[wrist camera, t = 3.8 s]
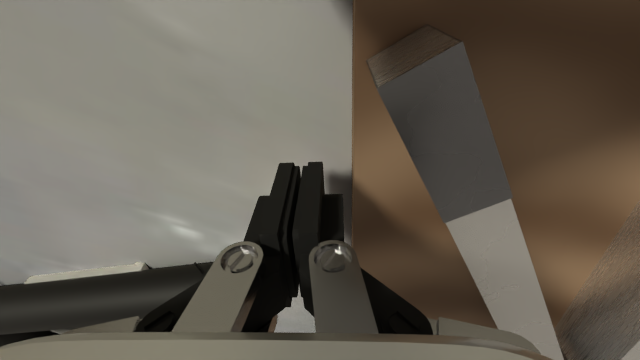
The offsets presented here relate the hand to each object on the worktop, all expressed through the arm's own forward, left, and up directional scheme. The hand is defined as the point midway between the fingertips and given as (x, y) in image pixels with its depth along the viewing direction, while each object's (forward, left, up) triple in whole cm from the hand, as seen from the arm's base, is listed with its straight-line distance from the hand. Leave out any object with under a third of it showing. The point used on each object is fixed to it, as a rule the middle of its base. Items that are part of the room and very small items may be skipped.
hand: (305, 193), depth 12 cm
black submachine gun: (-14, +14, -3) cm, 20 cm away
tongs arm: (-4, -8, -1) cm, 9 cm away
